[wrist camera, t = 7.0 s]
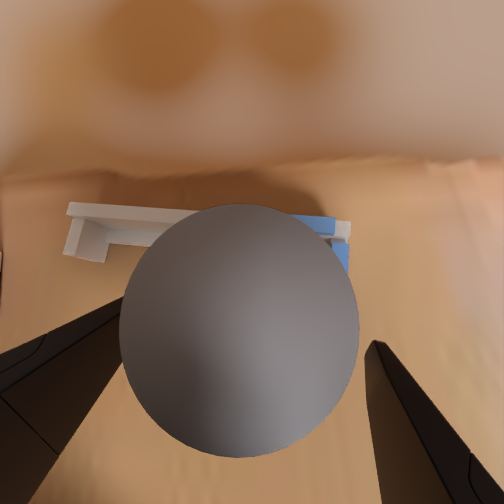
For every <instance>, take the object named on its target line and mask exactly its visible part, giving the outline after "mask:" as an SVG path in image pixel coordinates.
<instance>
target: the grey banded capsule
mask: <svg viewBox="0 0 504 504" xmlns="http://www.w3.org/2000/svg"><path fill="white" fill-rule="evenodd" d="M359 330H360V328H359V314H358V308H357V303H356V298H355V294H354V291H353V288H352V285H351V282H350V279H349V277H348V275H347V273H346V271H345V269H344V267H343V265H342V263H341V262H340V260H339V259H338V257H337V256H336V254H335V253H334V251H333V250H332V249H331V247H330V246H329V245H328V244H327V243H326V242H325V241H324V239H323V238H322V237H320V236H319V235H318V234H317V233H316V232H315V231H314V230H313V229H312V228H310V227H309V226H307V225H306V224H304V223H303V222H301V221H300V220H298V219H296V218H294V217H292V216H290V215H289V214H287V213H284V212H281V211H279V210H276V209H273V208H269V207H265V206H260V205H253V204H227V205H220V206H215V207H211V208H208V209H204V210H201V211H199V212H196V213H194V214H192V215H189V216H188V217H186V218H184V219H182V220H180V221H179V222H177V223H176V224H174V225H173V226H171V227H170V228H169V229H167V230H166V231H165V232H164V233H163V234H162V235H161V236H159V237H158V238H157V239H156V240H155V241H154V242H153V244H152V245H151V246H150V247H149V248H148V249H147V251H146V252H145V253H144V255H143V256H142V258H141V259H140V261H139V262H138V264H137V266H136V268H135V270H134V271H133V273H132V275H131V278H130V280H129V283H128V285H127V288H126V290H125V294H124V298H123V302H122V306H121V313H120V320H119V340H120V351H121V356H122V361H123V365H124V369H125V372H126V375H127V378H128V381H129V383H130V385H131V387H132V389H133V391H134V393H135V395H136V397H137V399H138V400H139V402H140V403H141V405H142V406H143V408H144V409H145V411H146V412H147V413H148V414H149V416H150V417H151V418H152V419H153V420H154V421H155V422H156V423H157V424H158V425H159V426H160V427H161V428H162V429H163V430H165V431H166V432H167V433H168V434H169V435H171V436H172V437H174V438H175V439H177V440H179V441H180V442H182V443H183V444H185V445H187V446H190V447H192V448H194V449H197V450H199V451H201V452H205V453H209V454H213V455H216V456H224V457H233V458H240V457H255V456H259V455H264V454H269V453H272V452H275V451H278V450H280V449H283V448H285V447H288V446H290V445H291V444H293V443H295V442H297V441H299V440H300V439H302V438H304V437H305V436H306V435H307V434H309V433H310V432H311V431H313V430H314V429H315V428H316V427H318V426H319V425H320V423H321V422H322V421H323V420H324V419H325V418H326V417H327V416H328V415H329V414H330V413H331V411H332V410H333V408H334V407H335V406H336V404H337V403H338V401H339V400H340V398H341V397H342V395H343V393H344V391H345V389H346V387H347V385H348V383H349V380H350V378H351V375H352V372H353V369H354V366H355V362H356V357H357V352H358V346H359Z"/></svg>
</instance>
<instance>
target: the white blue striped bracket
mask: <svg viewBox="0 0 504 504" xmlns="http://www.w3.org/2000/svg"><path fill="white" fill-rule="evenodd" d="M196 212H199V211H194V210H180V209H166V208H152V207H137V206H123V205H109V204H95V203H81V202H69V206H68V209H67V212H66V215H68V216H70V217H73V219H72V223H71V226H70V229H69V233H68V236H67V240H66V243H65V247H64V250H63V255H68V256H72V257H76V258H80V259H85V260H89V261H93V262H101V263H105V260H106V256H107V252H108V248H109V244H110V243H112V244H122V245H133V246H143V247H150V246H151V245H152V244H153V242H154V241H155V240H156V239H157V238H158V237H159V236H161V235H162V234H163V233H164V232H165V231H166V230H167V229H169V228H170V227H171V226H173V225H174V224H176V223H177V222H179V221H180V220H182V219H184V218H186V217H188V216H189V215H192V214H194V213H196ZM289 215H290V216H292V217H294V218H296V219H298V220H300V221H301V222H303V223H304V224H306V225H307V226H309V227H310V228H312V229H313V230H314V231H315V232H316V233H317V234H318V235H319V236H320V237H322V238H323V239H324V241H325V242H326V243H327V244H328V245H329V246H330V247H331V249H332V250H333V251H334V253H335V254H336V256H337V257H338V259H339V260H340V262H341V263H342V265H343V267H344V269H345V271H346V273H347V275H348V259H349V244H348V243H347V240H348V239H349V238H350V229H351V222H350V221H336V217H322V216H307V215H293V214H289Z"/></svg>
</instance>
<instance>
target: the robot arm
mask: <svg viewBox="0 0 504 504" xmlns="http://www.w3.org/2000/svg"><path fill="white" fill-rule="evenodd" d="M123 298H124V296H123V297H121V298H119V299H117V300H115V301H113V302H110V303H108V304H106V305H104V306H102V307H100V308H98V309H96V310H94V311H92V312H90V313H87V314H85V315H83V316H81V317H79V318H77V319H75V320H73V321H71V322H69V323H67V324H65V325H62V326H60V327H58V328H56V329H54V330H52V331H50V332H48V333H47V334H43V335H41V336H39V337H37V338H35V339H33V340H31V341H29V342H27V343H24V344H22V345H20V346H18V347H16V348H13V349H11V350H9V351H6V352H4V353H2V354H0V504H28V502H29V501H30V499H31V498H32V496H33V495H34V493H35V492H36V490H37V489H38V487H39V486H40V484H41V483H42V481H43V480H44V478H45V477H46V475H47V474H48V472H49V471H50V469H51V468H52V467H53V465H54V464H55V462H56V461H57V459H58V458H59V455H60V454H61V453H62V451H63V450H64V448H65V447H66V445H67V444H68V442H69V441H70V439H71V438H72V436H73V435H74V433H75V432H76V430H77V429H78V427H79V426H80V424H81V423H82V421H83V420H84V418H85V417H86V415H87V414H88V412H89V411H90V409H91V408H92V406H93V405H94V403H95V402H96V400H97V399H98V397H99V396H100V394H101V393H102V391H103V390H104V388H105V387H106V385H107V384H108V382H109V381H110V380H111V378H112V377H113V375H114V374H115V372H116V371H117V369H118V368H119V366H120V365H121V363H122V362H123V361H122V356H121V351H120V340H119V320H120V313H121V306H122V302H123ZM364 360H365V384H366V402H367V410H368V416H369V422H370V429H371V435H372V442H373V448H374V455H375V461H376V468H377V474H378V481H379V487H380V494H381V500H382V504H504V491H503V490H502V489H501V487H500V486H499V485H498V484H497V483H496V481H495V480H494V479H493V478H492V476H491V475H490V474H489V473H488V472H487V470H486V469H485V468H484V467H483V465H482V464H481V463H480V461H479V460H478V459H477V458H476V456H475V455H474V454H473V453H471V451H470V449H469V448H468V446H467V445H466V444H465V443H464V441H463V440H462V439H461V438H460V436H459V435H458V434H457V432H456V431H455V430H454V429H453V427H452V426H451V425H450V424H449V422H448V421H447V420H446V419H445V417H444V416H443V415H442V414H441V412H440V411H439V410H438V408H437V407H436V406H435V405H434V403H433V402H432V401H431V400H430V398H429V397H428V396H427V395H426V393H425V392H424V391H423V389H422V388H421V387H420V386H419V384H418V383H417V382H416V381H415V379H414V378H413V377H412V376H411V374H410V373H409V372H408V370H407V369H406V368H405V367H404V365H403V364H402V363H401V362H400V360H399V359H398V358H397V357H396V355H395V354H394V353H393V351H392V350H391V349H390V348H389V346H388V345H387V344H386V343H385V342H381V341H377V340H373V341H372V342H371V344H370V345H369V347H368V349H367V351H366V353H365V358H364Z"/></svg>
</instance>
